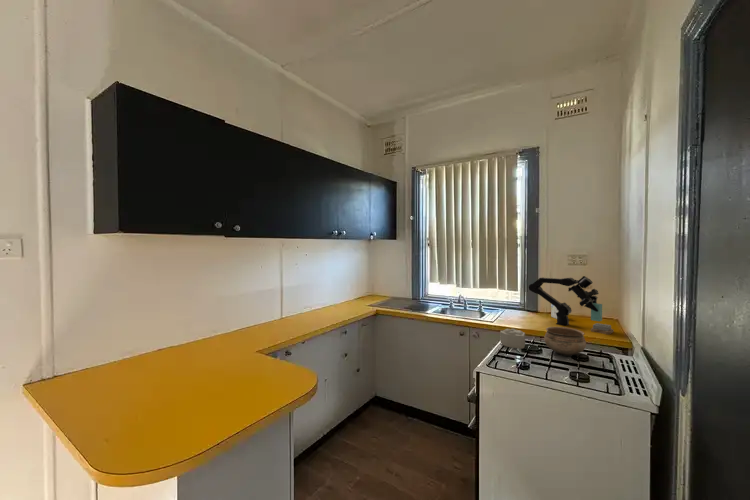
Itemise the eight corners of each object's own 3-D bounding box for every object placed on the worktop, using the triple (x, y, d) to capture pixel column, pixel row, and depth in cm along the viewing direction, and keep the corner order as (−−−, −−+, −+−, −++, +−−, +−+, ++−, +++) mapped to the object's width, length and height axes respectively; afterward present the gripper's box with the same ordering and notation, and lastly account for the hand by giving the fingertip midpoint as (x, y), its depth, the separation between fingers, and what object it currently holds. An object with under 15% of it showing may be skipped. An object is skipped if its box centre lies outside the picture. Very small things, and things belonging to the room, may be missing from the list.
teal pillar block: (590, 320, 209) (591, 303, 209) (593, 318, 212) (593, 302, 212) (599, 321, 205) (599, 305, 205) (602, 320, 208) (602, 304, 208)
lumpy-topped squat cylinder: (523, 349, 172) (523, 333, 172) (498, 345, 179) (498, 330, 179) (525, 344, 181) (525, 329, 181) (501, 340, 188) (501, 326, 188)
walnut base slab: (590, 332, 207) (590, 328, 207) (595, 329, 213) (595, 326, 213) (608, 335, 199) (609, 332, 199) (613, 333, 206) (613, 329, 206)
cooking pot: (584, 365, 149) (585, 340, 149) (540, 357, 160) (540, 333, 160) (586, 350, 169) (587, 328, 169) (547, 344, 181) (547, 323, 180)
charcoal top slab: (592, 328, 207) (593, 324, 207) (596, 326, 212) (596, 323, 212) (607, 331, 201) (607, 327, 201) (611, 329, 206) (611, 325, 206)
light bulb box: (567, 319, 238) (567, 306, 238) (558, 319, 238) (558, 306, 238) (559, 316, 249) (559, 303, 249) (550, 316, 249) (550, 303, 249)
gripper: (585, 286, 206) (604, 305, 197) (594, 284, 217) (613, 301, 209) (571, 296, 212) (590, 315, 203) (581, 293, 224) (599, 311, 215)
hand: (598, 310), depth 208 cm, fingers closed on teal pillar block, 5 cm apart
